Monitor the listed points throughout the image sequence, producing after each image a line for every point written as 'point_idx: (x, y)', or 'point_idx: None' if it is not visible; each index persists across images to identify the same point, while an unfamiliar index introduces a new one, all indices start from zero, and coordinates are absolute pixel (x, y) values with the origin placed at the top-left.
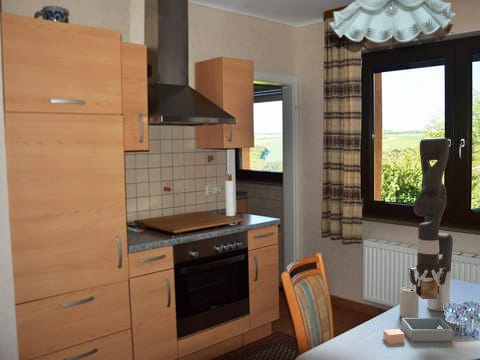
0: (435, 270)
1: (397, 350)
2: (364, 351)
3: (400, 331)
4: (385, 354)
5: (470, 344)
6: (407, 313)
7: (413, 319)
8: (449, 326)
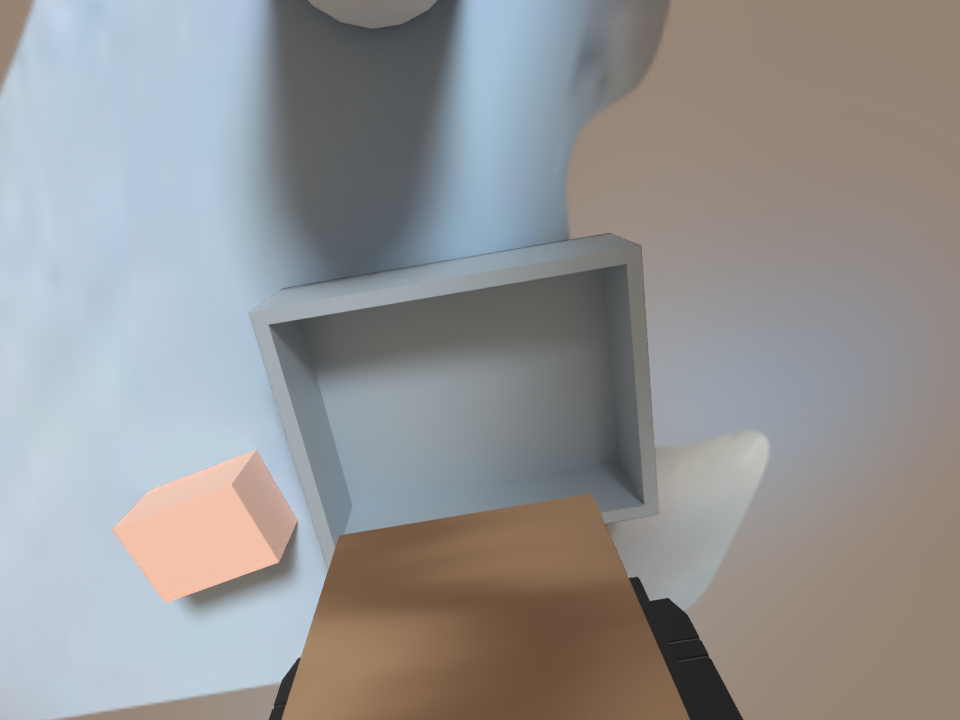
0: None
1: (251, 632)
2: (54, 676)
3: (248, 530)
4: (182, 688)
5: (730, 479)
6: (334, 10)
7: (367, 306)
8: (653, 447)
